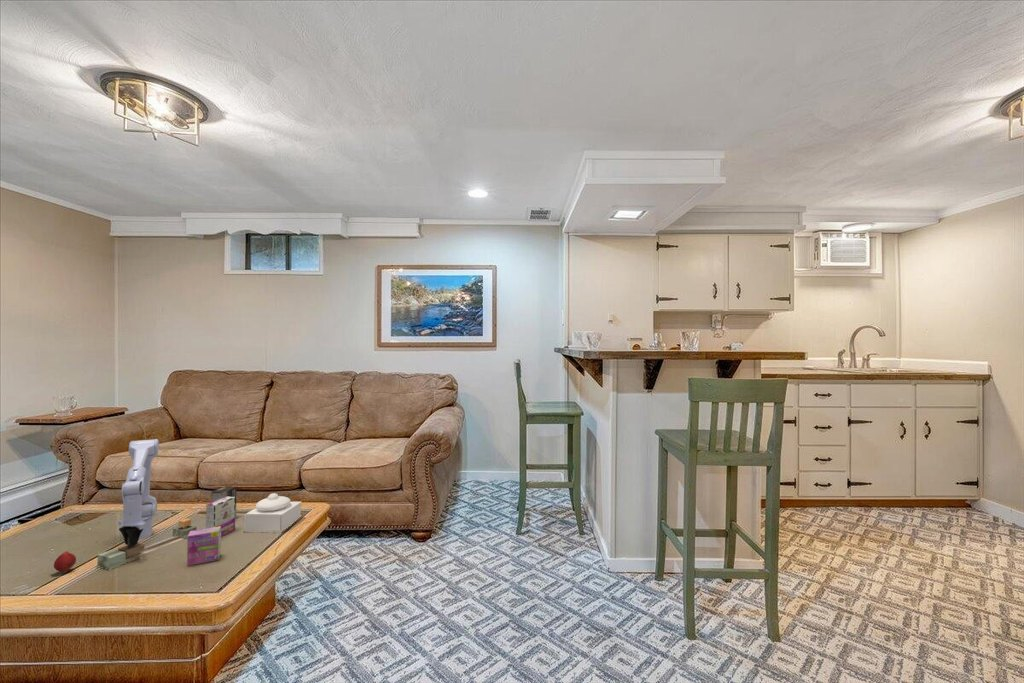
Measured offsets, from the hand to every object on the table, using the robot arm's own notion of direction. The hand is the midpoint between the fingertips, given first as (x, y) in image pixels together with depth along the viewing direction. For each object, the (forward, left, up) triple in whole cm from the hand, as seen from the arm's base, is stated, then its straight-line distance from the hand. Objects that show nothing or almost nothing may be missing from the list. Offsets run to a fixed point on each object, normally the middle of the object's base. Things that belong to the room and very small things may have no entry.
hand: (131, 544), depth 174 cm
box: (+30, +9, -6) cm, 32 cm away
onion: (-10, -16, -6) cm, 20 cm away
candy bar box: (+14, +27, -6) cm, 31 cm away
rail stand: (0, +7, -5) cm, 9 cm away
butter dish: (+26, +45, -6) cm, 52 cm away
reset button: (0, +21, -2) cm, 21 cm away
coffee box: (-2, +40, -6) cm, 40 cm away
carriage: (0, 0, -3) cm, 3 cm away
